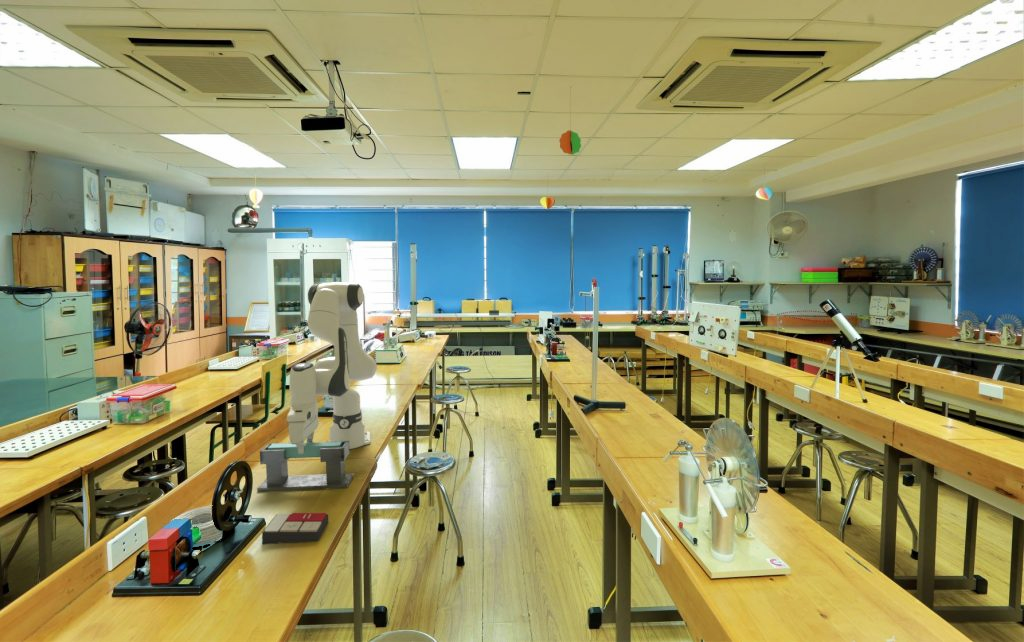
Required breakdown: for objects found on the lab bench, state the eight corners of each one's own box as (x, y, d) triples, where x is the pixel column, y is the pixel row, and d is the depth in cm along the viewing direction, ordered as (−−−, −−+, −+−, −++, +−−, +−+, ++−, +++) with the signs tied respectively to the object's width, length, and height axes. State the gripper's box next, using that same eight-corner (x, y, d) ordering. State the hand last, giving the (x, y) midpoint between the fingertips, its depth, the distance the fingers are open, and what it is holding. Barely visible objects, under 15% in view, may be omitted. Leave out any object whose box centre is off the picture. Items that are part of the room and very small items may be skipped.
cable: (196, 558, 129) (195, 536, 129) (148, 547, 135) (146, 526, 134) (250, 526, 146) (249, 507, 145) (205, 517, 151) (204, 498, 151)
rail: (272, 454, 175) (272, 444, 175) (342, 452, 178) (341, 441, 178) (268, 459, 172) (267, 447, 171) (339, 456, 174) (339, 445, 174)
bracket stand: (268, 479, 179) (266, 442, 178) (353, 476, 182) (352, 439, 181) (257, 491, 169) (255, 452, 168) (347, 487, 172) (346, 449, 171)
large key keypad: (318, 530, 137) (261, 530, 135) (317, 544, 137) (261, 545, 136) (328, 511, 148) (276, 511, 146) (328, 525, 148) (276, 525, 147)
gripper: (304, 402, 183) (305, 439, 184) (284, 418, 163) (286, 459, 164) (321, 402, 184) (323, 438, 185) (304, 417, 163) (306, 458, 165)
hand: (305, 448), depth 174 cm, fingers open, 8 cm apart
